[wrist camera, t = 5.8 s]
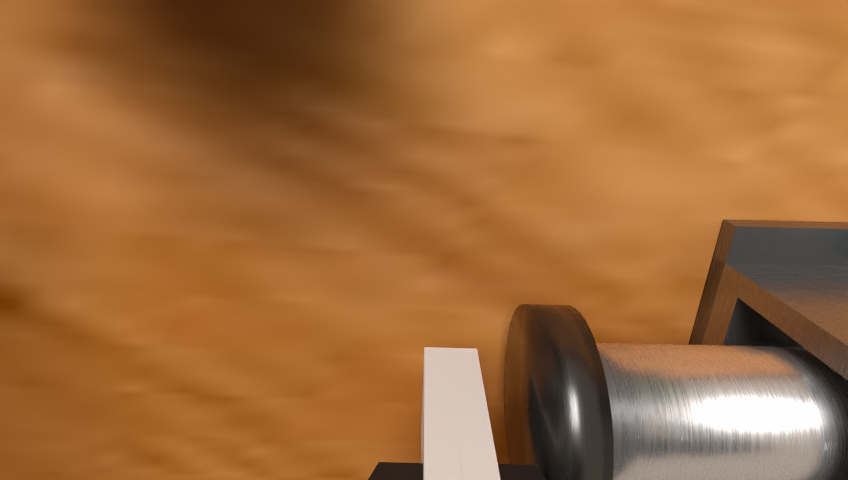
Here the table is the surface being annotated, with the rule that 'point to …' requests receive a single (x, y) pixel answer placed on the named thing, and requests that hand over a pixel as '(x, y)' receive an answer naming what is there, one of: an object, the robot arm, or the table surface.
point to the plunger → (667, 407)
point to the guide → (779, 289)
